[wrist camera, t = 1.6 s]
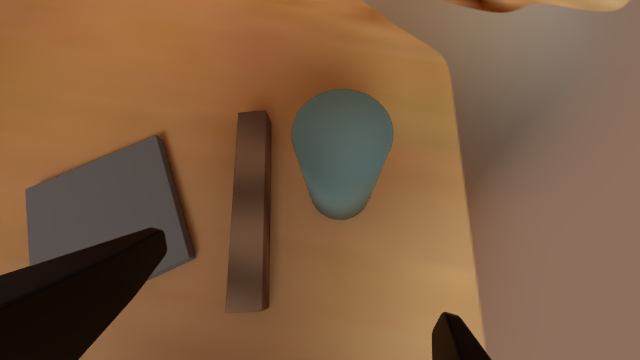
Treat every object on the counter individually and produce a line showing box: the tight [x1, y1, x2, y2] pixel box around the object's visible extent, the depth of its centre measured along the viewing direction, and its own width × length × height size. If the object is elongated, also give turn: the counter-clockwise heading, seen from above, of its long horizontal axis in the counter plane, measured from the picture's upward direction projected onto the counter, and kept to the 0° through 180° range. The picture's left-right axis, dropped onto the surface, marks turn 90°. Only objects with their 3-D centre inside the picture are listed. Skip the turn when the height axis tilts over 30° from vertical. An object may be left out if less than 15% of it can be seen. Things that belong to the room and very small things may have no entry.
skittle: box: [292, 89, 393, 220], centre depth 18 cm, size 5×5×10 cm
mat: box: [25, 135, 195, 280], centre depth 22 cm, size 12×12×1 cm
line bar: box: [225, 111, 271, 313], centre depth 21 cm, size 16×2×2 cm, turn 3°
